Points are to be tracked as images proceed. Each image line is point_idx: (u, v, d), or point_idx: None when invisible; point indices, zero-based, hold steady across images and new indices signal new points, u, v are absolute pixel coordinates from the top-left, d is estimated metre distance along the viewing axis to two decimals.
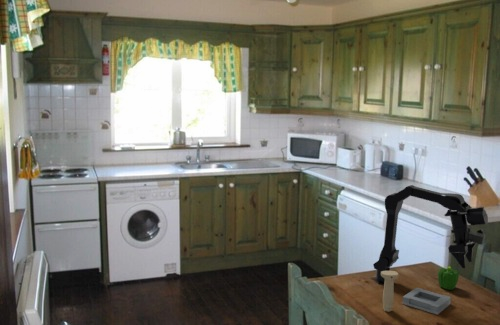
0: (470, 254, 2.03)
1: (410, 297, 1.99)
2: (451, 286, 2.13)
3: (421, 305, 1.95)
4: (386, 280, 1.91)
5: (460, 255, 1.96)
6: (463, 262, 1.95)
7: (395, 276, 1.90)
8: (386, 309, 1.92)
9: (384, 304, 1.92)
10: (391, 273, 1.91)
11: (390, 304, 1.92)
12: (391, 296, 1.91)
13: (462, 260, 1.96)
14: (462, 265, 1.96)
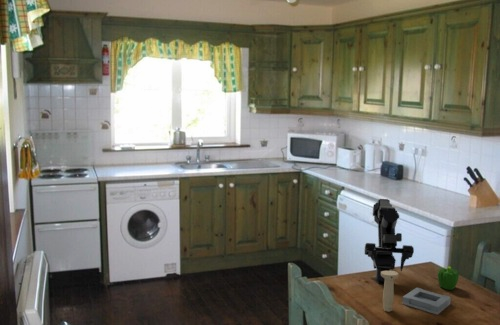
0: (401, 263, 1.99)
1: (410, 297, 1.99)
2: (451, 286, 2.13)
3: (421, 305, 1.95)
4: (386, 280, 1.91)
5: None
6: (375, 262, 2.01)
7: (395, 276, 1.90)
8: (386, 309, 1.92)
9: (384, 304, 1.92)
10: (391, 273, 1.91)
11: (390, 304, 1.92)
12: (391, 296, 1.91)
13: (374, 261, 2.02)
14: (375, 266, 2.01)
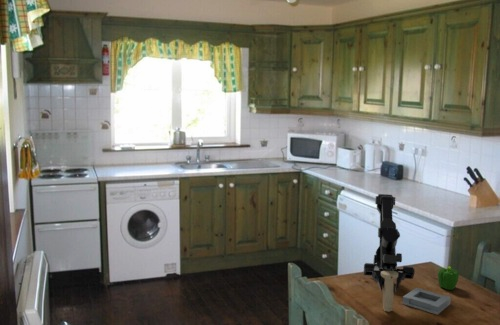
0: (396, 284, 1.92)
1: (410, 297, 1.99)
2: (451, 286, 2.13)
3: (421, 305, 1.95)
4: (386, 280, 1.91)
5: None
6: (379, 284, 1.93)
7: (395, 276, 1.90)
8: (386, 309, 1.92)
9: (384, 304, 1.92)
10: (391, 273, 1.91)
11: (390, 304, 1.92)
12: (391, 296, 1.91)
13: (378, 282, 1.94)
14: (380, 288, 1.93)
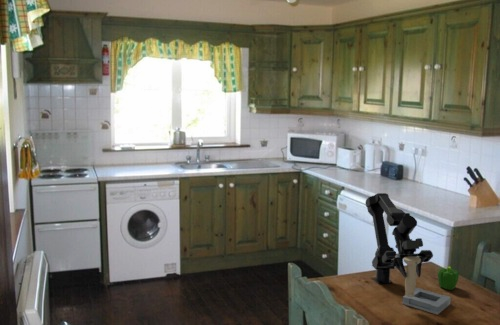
0: (417, 269, 1.94)
1: (410, 297, 1.99)
2: (451, 286, 2.13)
3: (421, 305, 1.95)
4: (410, 266, 1.91)
5: None
6: (402, 270, 1.93)
7: (419, 261, 1.91)
8: (409, 295, 1.93)
9: (407, 290, 1.93)
10: (414, 259, 1.92)
11: (413, 289, 1.93)
12: (414, 281, 1.92)
13: (401, 269, 1.94)
14: (403, 274, 1.93)
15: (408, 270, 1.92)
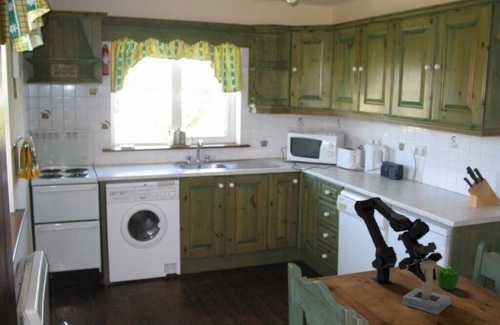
0: None
1: (410, 297, 1.99)
2: (451, 286, 2.13)
3: (421, 305, 1.95)
4: (428, 270, 1.96)
5: (416, 269, 1.98)
6: (421, 275, 1.97)
7: None
8: (427, 298, 1.98)
9: (426, 294, 1.98)
10: (431, 263, 1.97)
11: (431, 292, 1.98)
12: (432, 284, 1.98)
13: (419, 274, 1.97)
14: (422, 279, 1.97)
15: (426, 274, 1.97)
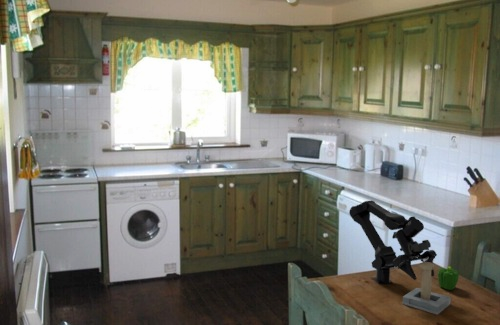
0: None
1: (410, 297, 1.99)
2: (451, 286, 2.13)
3: (421, 305, 1.95)
4: (427, 272, 1.97)
5: (407, 267, 2.00)
6: (411, 273, 1.99)
7: None
8: (427, 300, 1.99)
9: (425, 295, 1.98)
10: (429, 264, 1.98)
11: (430, 294, 1.99)
12: None
13: (410, 272, 1.99)
14: (413, 277, 1.99)
15: (425, 276, 1.98)
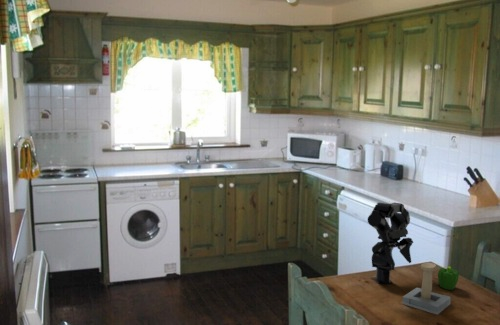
0: (407, 255, 2.09)
1: (410, 297, 1.99)
2: (451, 286, 2.13)
3: (421, 305, 1.95)
4: (428, 273, 1.96)
5: (385, 254, 2.05)
6: (390, 259, 2.03)
7: (435, 267, 1.97)
8: (427, 300, 1.99)
9: (425, 296, 1.98)
10: (430, 265, 1.97)
11: (430, 294, 1.98)
12: (431, 287, 1.98)
13: (388, 258, 2.04)
14: (391, 263, 2.03)
15: (426, 277, 1.97)
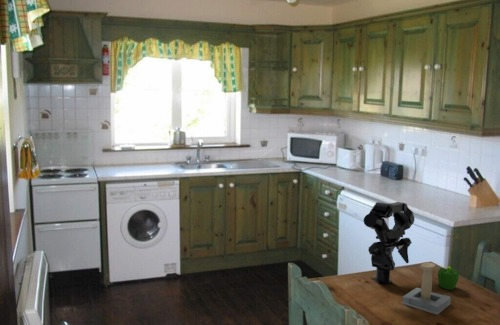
0: (405, 255, 2.08)
1: (410, 297, 1.99)
2: (451, 286, 2.13)
3: (421, 305, 1.95)
4: (427, 272, 1.97)
5: (382, 254, 2.05)
6: (386, 260, 2.04)
7: (434, 266, 1.97)
8: (427, 300, 1.99)
9: (425, 296, 1.98)
10: (430, 265, 1.98)
11: (430, 294, 1.99)
12: (431, 286, 1.98)
13: (384, 258, 2.04)
14: (387, 263, 2.04)
15: (425, 276, 1.97)
